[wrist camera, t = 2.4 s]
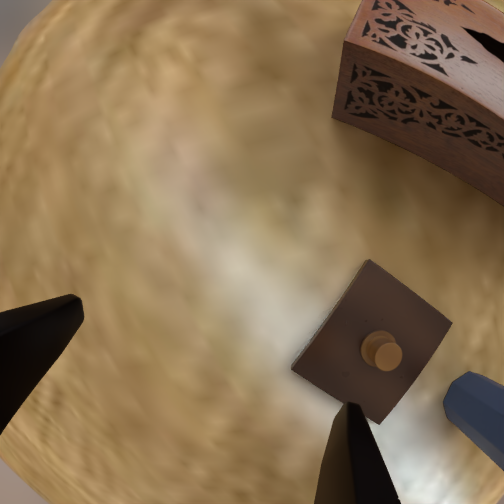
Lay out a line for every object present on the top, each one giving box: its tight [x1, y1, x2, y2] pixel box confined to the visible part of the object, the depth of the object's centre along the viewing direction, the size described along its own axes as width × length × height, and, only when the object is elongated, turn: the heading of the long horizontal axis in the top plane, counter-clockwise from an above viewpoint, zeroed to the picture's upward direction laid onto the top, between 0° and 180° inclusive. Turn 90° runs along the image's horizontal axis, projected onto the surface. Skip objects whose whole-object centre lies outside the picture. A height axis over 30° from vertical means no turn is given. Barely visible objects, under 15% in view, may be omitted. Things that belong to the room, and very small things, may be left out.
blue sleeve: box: [443, 371, 504, 471], centre depth 14 cm, size 5×5×13 cm
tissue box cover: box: [332, 0, 504, 206], centre depth 17 cm, size 26×14×10 cm, turn 66°
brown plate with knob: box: [291, 259, 452, 425], centre depth 20 cm, size 10×9×4 cm
